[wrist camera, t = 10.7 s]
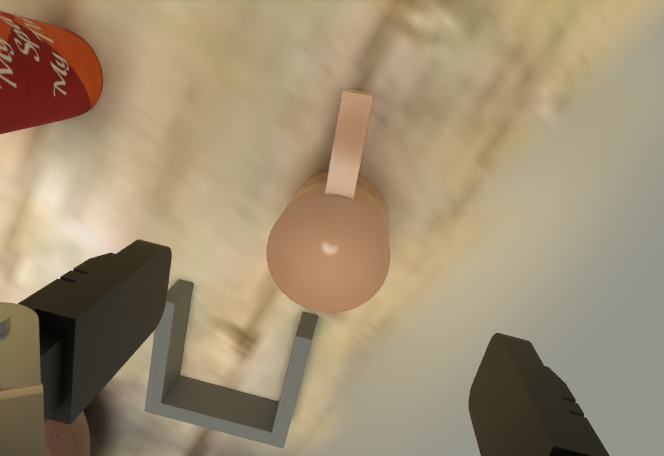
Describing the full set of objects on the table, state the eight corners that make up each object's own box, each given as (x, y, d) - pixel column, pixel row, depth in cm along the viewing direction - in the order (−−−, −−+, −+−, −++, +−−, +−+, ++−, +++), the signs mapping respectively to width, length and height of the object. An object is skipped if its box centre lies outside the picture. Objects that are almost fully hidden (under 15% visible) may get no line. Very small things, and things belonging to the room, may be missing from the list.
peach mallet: (311, 80, 31) (289, 81, 23) (414, 99, 30) (426, 106, 23) (285, 251, 35) (259, 299, 27) (376, 269, 34) (375, 323, 27)
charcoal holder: (178, 279, 36) (158, 299, 33) (317, 315, 36) (311, 339, 33) (164, 383, 40) (144, 411, 36) (291, 417, 39) (283, 448, 36)
